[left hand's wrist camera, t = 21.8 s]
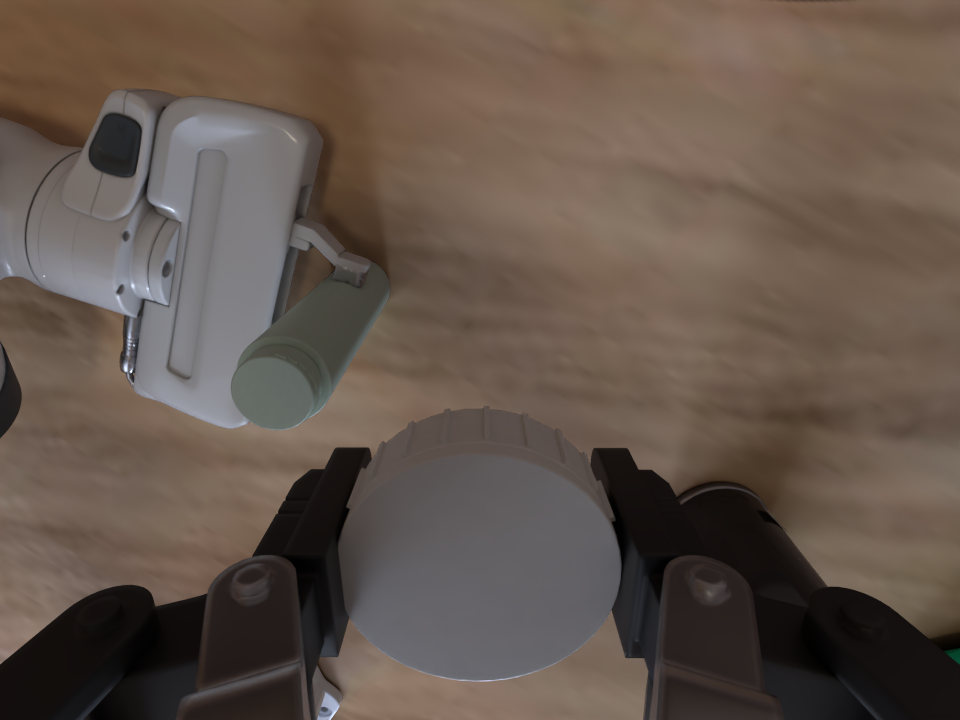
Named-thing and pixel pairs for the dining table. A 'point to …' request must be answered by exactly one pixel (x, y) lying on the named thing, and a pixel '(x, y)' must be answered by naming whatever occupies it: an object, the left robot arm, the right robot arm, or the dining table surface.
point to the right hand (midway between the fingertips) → (355, 314)
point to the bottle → (307, 352)
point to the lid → (479, 547)
